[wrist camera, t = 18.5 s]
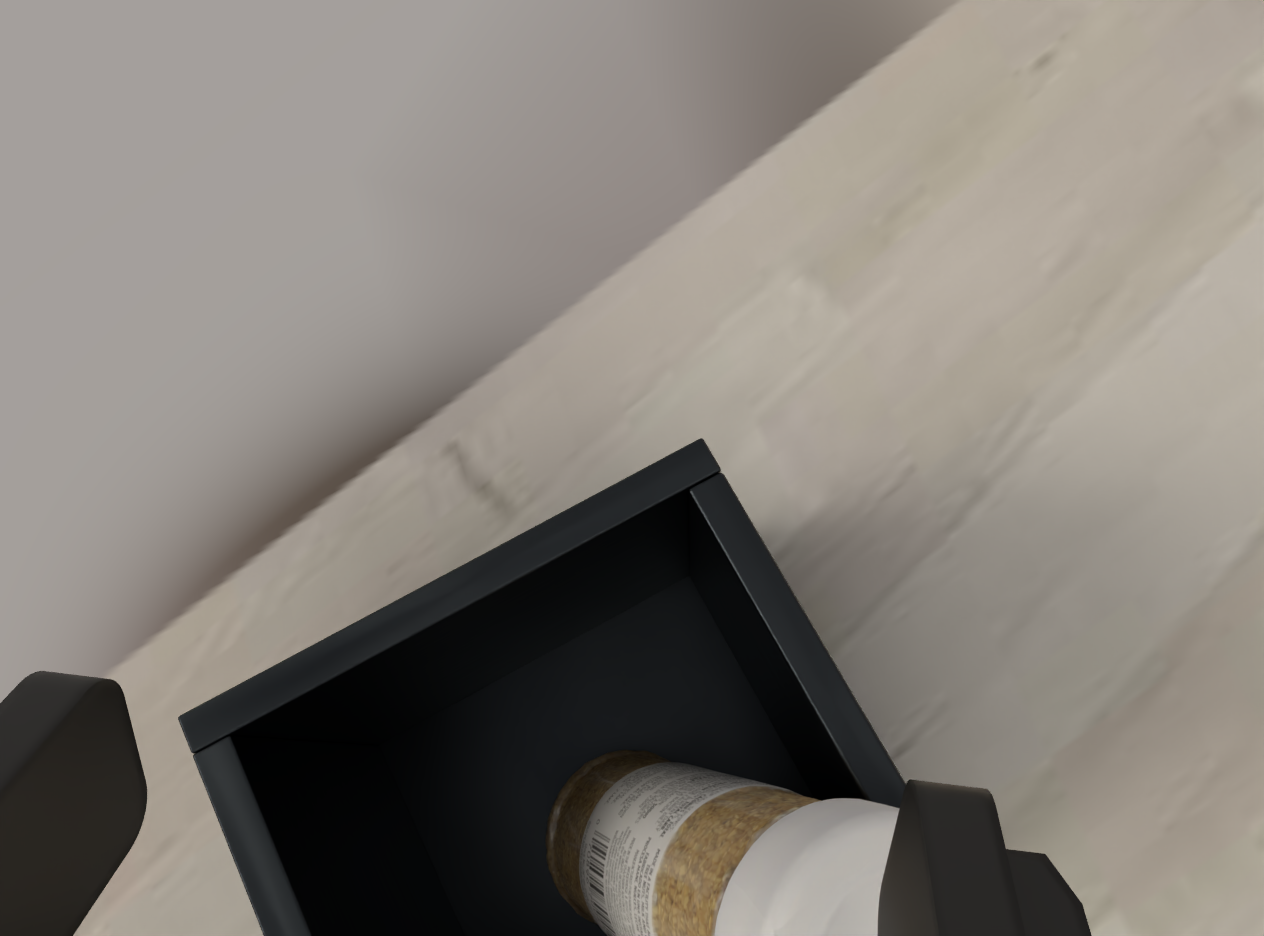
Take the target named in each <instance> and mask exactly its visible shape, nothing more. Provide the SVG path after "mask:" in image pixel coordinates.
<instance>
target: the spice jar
mask: <svg viewBox="0 0 1264 936" xmlns="http://www.w3.org/2000/svg"><path fill="white" fill-rule="evenodd" d="M899 809H900V808H896V807H892V806H888V805H884V804H880V803H875V802H871V801H866V800H862V799H851V798H836V799H828V800H823V801H821V800H818V799H814V798H810V797H806V796H802V795H800V794H798V793H795V792H793V791H791V790H789V789H785V788H781V787H778V786H774V785H770V784H766V783H762V782H758V781H755V780H750V779H746V778H742V777H738V776H734V775H729V774H725V773H721V772H717V771H713V770H709V769H706V768H702V767H698V766H694V765H690V764H685V763H677V762H670V761H669V760H666V759H664V758H662V757H660V756H658V755H656V754H654V753H651V752H648V751H632V750H620V751H615V752H609V753H606V754H604V755H601V756H599V757H597V758H595V759H593V760H591V761H588V762H586V763H585V764H584V765H583V766H582V767H581V768H580V769H579V770H578V771H576V772H575V773H574V774H573V775H572V776H571V777H570V778H569V780H568V781H567V782H566V784H565V785H564V786H563V788H562V789H561V790H560V792H559V793H558V796H557V798H556V800H555V802H554V804H553V806H552V809H551V812H550V814H549V817H548V822H547V832H546V840H545V841H546V849H547V855H546V858H547V864H548V868H549V871H550V873H551V876H552V878H553V881H554V883H555V886H556V887H557V889H558V891H559V893H560V895H561V896H562V897H563V898H564V899H565V900H566V901H567V902H568V903H569V904H570V905H571V906H572V908H573V909H574V910H575V912H576V913H577V914H579V915H580V916H582V917H583V918H585V919H587V920H589V921H590V922H592V923H595V924H597V925H598V926H599V927H600V928H601V930H602V931H603V932H604V933H605V934H606V935H607V936H878V907H879V897H880V890H881V884H882V879H883V875H884V871H885V867H886V863H887V859H888V854H889V850H890V846H891V842H892V838H893V834H894V829H895V825H896V821H897V817H898V813H899Z"/></svg>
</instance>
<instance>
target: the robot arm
mask: <svg viewBox="0 0 1264 936" xmlns="http://www.w3.org/2000/svg"><path fill="white" fill-rule="evenodd" d="M146 804H147V786H146V780H145V776H144V772H143V768H142V764H141V760H140V756H139V752H138V748H137V744H136V740H135V736H134V732H133V728H132V724H131V720H130V716H129V712H128V708H127V705H126V701H125V697H124V694H123V691H122V689H121V687H120V685H119V684H118V683H117V682H116V681H114V680H111V679H104V678H96V677H87V676H79V675H71V674H63V673H55V672H46V671H39V672H35V673H33V674H30V675H29V676H27V677H26V678H25V679H24V680H22V681H21V682H20V683H19V684H18V685H17V686H16V687H15V689H14V690H13V691H12V692H11V693H10V694H9V695H8V696H7V697H6V698H5V699H4V700H3V701H2V702H1V703H0V936H73V934H74V933H75V931H76V930H77V928H78V927H79V925H80V924H81V922H82V921H83V919H84V918H85V916H86V915H87V913H88V912H89V910H90V909H91V907H92V906H93V904H94V903H95V901H96V900H97V898H98V897H99V896H100V894H101V893H102V891H103V890H104V888H105V887H106V885H107V884H108V882H109V881H110V879H111V878H112V876H113V875H114V873H115V872H116V870H117V869H118V867H119V866H120V864H121V863H122V861H123V860H124V858H125V857H126V855H127V854H128V852H129V851H130V849H131V847H132V846H133V844H134V842H135V840H136V838H137V836H138V834H139V831H140V829H141V826H142V822H143V819H144V815H145V811H146ZM878 936H1091V932H1090V929H1089V925H1088V922H1087V919H1086V915H1085V912H1084V909H1083V905H1082V903H1081V902H1080V901H1079V899H1078V898H1077V896H1076V895H1075V894H1074V892H1073V891H1072V890H1071V888H1070V887H1069V886H1068V884H1067V883H1066V881H1065V880H1064V879H1063V877H1062V876H1061V875H1060V873H1059V872H1058V871H1057V869H1056V868H1055V867H1054V865H1053V864H1052V862H1051V861H1050V860H1049V858H1048V857H1047V856H1046V854H1041V853H1033V852H1025V851H1017V850H1009V849H1006V848H1005V843H1004V839H1003V835H1002V831H1001V826H1000V822H999V818H998V813H997V809H996V805H995V802H994V799H993V796H992V794H991V793H990V791H989V790H988V789H983V788H974V787H966V786H958V785H950V784H942V783H933V782H925V781H917V780H909V781H908V782H907V784H906V786H905V789H904V793H903V796H902V800H901V805H900V809H899V813H898V817H897V821H896V825H895V829H894V834H893V838H892V842H891V846H890V850H889V854H888V859H887V863H886V867H885V871H884V875H883V879H882V884H881V890H880V897H879V907H878Z"/></svg>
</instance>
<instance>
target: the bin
mask: <svg viewBox="0 0 1264 936" xmlns="http://www.w3.org/2000/svg"><path fill="white" fill-rule="evenodd" d="M720 472H721V469H720V467H719V465H718V463H717V462H716V460H715V458H714V457H713V455H712V453H711V451H710V450H709V448H708V446H707V445H706V443H705V441H704V440H703V439H698V440H696V441H695V442H693V443H691V444H689V445H687V446H685V447H683V448H681V449H680V450H678V451H676V452H674V453H672V454H670V455H668V456H666V457H665V458H663V459H661V460H659V461H657V462H655V463H653V464H651V465H650V466H648V467H646V468H644V469H642V470H640V471H638V472H636V473H635V474H633V475H631V476H629V477H627V478H625V479H623V480H621V481H620V482H618V483H616V484H614V485H612V486H610V487H608V488H606V489H605V490H603V491H601V492H599V493H597V494H595V495H593V496H591V497H589V498H588V499H586V500H584V501H582V502H580V503H578V504H576V505H574V506H573V507H571V508H569V509H567V510H565V511H563V512H561V513H559V514H558V515H556V516H554V517H552V518H550V519H548V520H546V521H544V522H543V523H541V524H539V525H537V526H535V527H533V528H531V529H529V530H528V531H526V532H524V533H522V534H520V535H518V536H516V537H514V538H513V539H511V540H509V541H507V542H505V543H503V544H501V545H499V546H498V547H496V548H494V549H492V550H490V551H488V552H486V553H484V554H483V555H481V556H479V557H477V558H475V559H473V560H471V561H469V562H468V563H466V564H464V565H462V566H460V567H458V568H456V569H454V570H453V571H451V572H449V573H447V574H445V575H443V576H441V577H439V578H438V579H436V580H434V581H432V582H430V583H428V584H426V585H424V586H423V587H421V588H419V589H417V590H415V591H413V592H411V593H409V594H408V595H406V596H404V597H402V598H400V599H398V600H396V601H394V602H393V603H391V604H389V605H387V606H385V607H383V608H381V609H379V610H377V611H376V612H374V613H372V614H370V615H368V616H366V617H364V618H362V619H361V620H359V621H357V622H355V623H353V624H351V625H349V626H347V627H346V628H344V629H342V630H340V631H338V632H336V633H334V634H332V635H331V636H329V637H327V638H325V639H323V640H321V641H319V642H317V643H316V644H314V645H312V646H310V647H308V648H306V649H304V650H302V651H301V652H299V653H297V654H295V655H293V656H291V657H289V658H287V659H286V660H284V661H282V662H280V663H278V664H276V665H274V666H272V667H271V668H269V669H267V670H265V671H263V672H261V673H259V674H257V675H256V676H254V677H252V678H250V679H248V680H246V681H244V682H242V683H241V684H239V685H237V686H235V687H233V688H231V689H229V690H227V691H226V692H224V693H222V694H220V695H218V696H216V697H214V698H212V699H211V700H209V701H207V702H205V703H203V704H201V705H199V706H197V707H196V708H194V709H192V710H190V711H188V712H186V713H184V714H182V715H181V716H179V717H178V720H179V722H180V725H181V727H182V730H183V732H184V735H185V737H186V740H187V742H188V745H189V747H190V750H191V752H192V753H193V754H194V755H193V758H194V760H195V763H196V765H197V768H198V770H199V773H200V775H201V778H202V780H203V783H204V785H205V788H206V790H207V793H208V796H209V798H210V801H211V803H212V806H213V808H214V811H215V813H216V816H217V818H218V821H219V823H220V826H221V828H222V831H223V833H224V836H225V839H226V841H227V844H228V846H229V849H230V851H231V854H232V856H233V859H234V861H235V864H236V866H237V869H238V871H239V874H240V876H241V879H242V882H243V884H244V887H245V889H246V892H247V894H248V897H249V899H250V902H251V904H252V907H253V909H254V912H255V914H256V917H257V919H258V922H259V925H260V927H261V930H262V932H263V935H264V936H607V935H606V934H605V933H604V932H603V931H602V930H601V928H600V927H599V926H598V925H597V924H595V923H592V922H590V921H589V920H587V919H585V918H583V917H582V916H580V915H579V914H577V913H576V912H575V910H574V909H573V908H572V906H571V905H570V904H569V903H568V902H567V901H566V900H565V899H564V898H563V897H562V896H561V895H560V893H559V891H558V889H557V887H556V886H555V883H554V881H553V878H552V876H551V873H550V871H549V868H548V864H547V858H546V855H547V849H546V841H545V840H546V832H547V822H548V817H549V814H550V812H551V809H552V806H553V804H554V802H555V800H556V798H557V796H558V793H559V792H560V790H561V789H562V788H563V786H564V785H565V784H566V782H567V781H568V780H569V778H570V777H571V776H572V775H573V774H574V773H575V772H576V771H578V770H579V769H580V768H581V767H582V766H583V765H584V764H585V763H586V762H588V761H591V760H593V759H595V758H597V757H599V756H601V755H604V754H606V753H609V752H615V751H620V750H632V751H648V752H651V753H654V754H656V755H658V756H660V757H662V758H664V759H666V760H669V761H670V762H677V763H685V764H690V765H694V766H698V767H702V768H706V769H709V770H713V771H717V772H721V773H725V774H729V775H734V776H738V777H742V778H746V779H750V780H755V781H758V782H762V783H766V784H770V785H774V786H778V787H781V788H785V789H789V790H791V791H793V792H795V793H798V794H800V795H802V796H806V797H810V798H814V799H818V800H821V801H823V800H828V799H836V798H851V799H862V800H866V801H871V802H875V803H880V804H884V805H888V806H892V807H896V808H900V805H901V800H902V796H903V793H904V789H905V786H906V784H905V782H904V780H903V778H902V777H901V775H900V773H899V772H898V770H897V768H896V766H895V765H894V763H893V761H892V760H891V758H890V756H889V755H888V753H887V751H886V749H885V748H884V746H883V744H882V743H881V741H880V739H879V738H878V736H877V734H876V732H875V731H874V729H873V727H872V726H871V724H870V722H869V721H868V719H867V717H866V715H865V714H864V712H863V710H862V709H861V707H860V705H859V704H858V702H857V700H856V698H855V697H854V695H853V693H852V692H851V690H850V688H849V687H848V685H847V683H846V681H845V680H844V678H843V676H842V675H841V673H840V671H839V670H838V668H837V666H836V664H835V663H834V661H833V659H832V658H831V656H830V654H829V653H828V651H827V649H826V647H825V646H824V644H823V642H822V641H821V639H820V637H819V636H818V634H817V632H816V630H815V629H814V627H813V625H812V624H811V622H810V620H809V619H808V617H807V615H806V613H805V612H804V610H803V608H802V607H801V605H800V603H799V602H798V600H797V598H796V596H795V595H794V593H793V591H792V590H791V588H790V586H789V585H788V583H787V581H786V579H785V578H784V576H783V574H782V573H781V571H780V569H779V568H778V566H777V564H776V562H775V561H774V559H773V557H772V556H771V554H770V552H769V551H768V549H767V547H766V545H765V544H764V542H763V540H762V539H761V537H760V535H759V534H758V532H757V530H756V528H755V527H754V525H753V523H752V522H751V520H750V518H749V517H748V515H747V513H746V511H745V510H744V508H743V506H742V505H741V503H740V501H739V500H738V498H737V496H736V494H735V493H734V491H733V489H732V488H731V486H730V484H729V483H728V481H727V479H726V477H725V476H724V474H722V473H720Z"/></svg>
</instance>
